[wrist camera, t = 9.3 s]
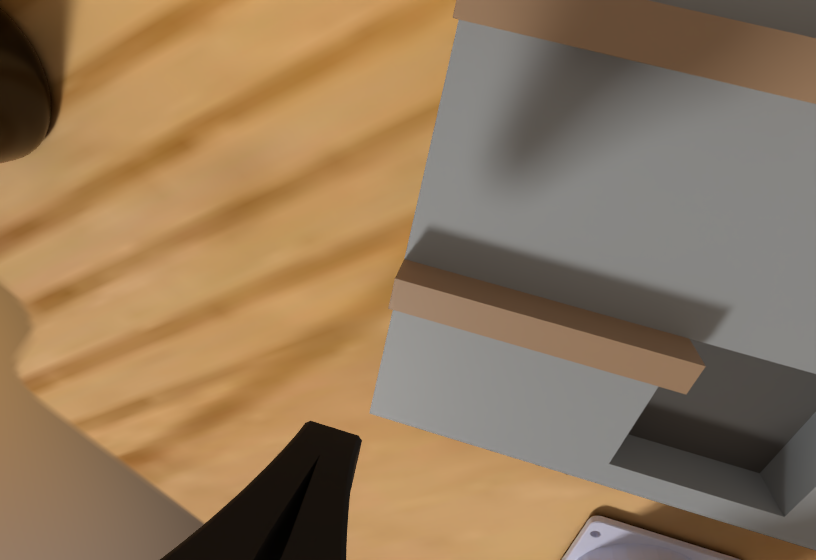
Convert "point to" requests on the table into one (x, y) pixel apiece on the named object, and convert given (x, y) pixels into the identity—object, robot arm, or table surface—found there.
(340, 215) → the table surface
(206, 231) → the table surface
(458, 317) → the board
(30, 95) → the supplement bottle
